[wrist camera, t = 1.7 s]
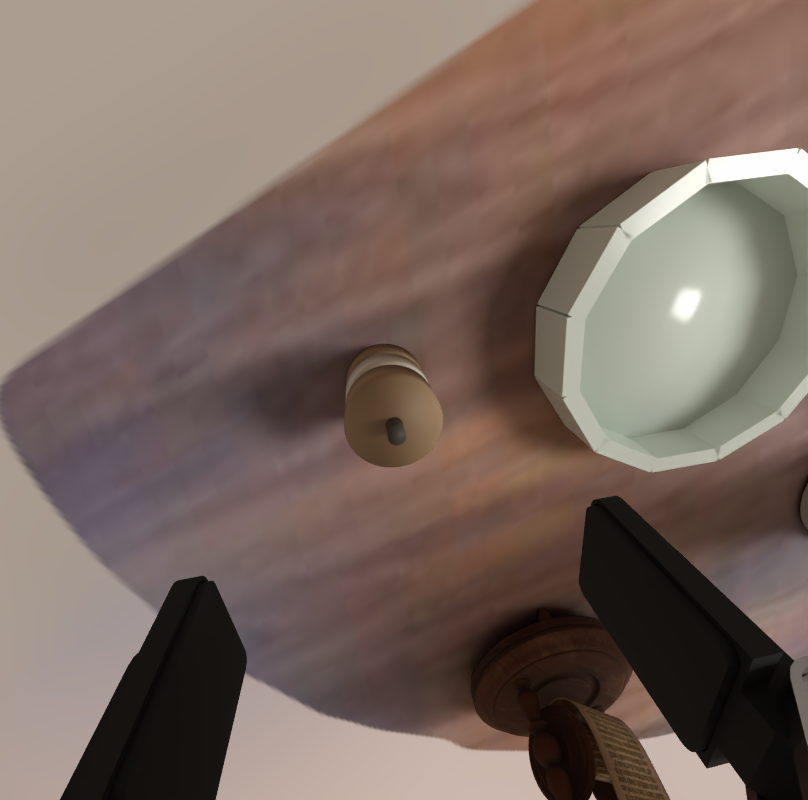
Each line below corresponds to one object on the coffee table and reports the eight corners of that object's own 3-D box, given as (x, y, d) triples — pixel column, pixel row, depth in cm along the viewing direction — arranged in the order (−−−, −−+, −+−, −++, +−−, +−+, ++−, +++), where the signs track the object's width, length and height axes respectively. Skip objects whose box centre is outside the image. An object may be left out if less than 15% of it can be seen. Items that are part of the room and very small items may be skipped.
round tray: (834, 149, 21) (921, 133, 18) (754, 421, 28) (806, 445, 25) (539, 185, 20) (575, 174, 17) (532, 459, 27) (556, 489, 23)
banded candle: (417, 338, 22) (445, 380, 16) (424, 408, 24) (452, 472, 17) (339, 350, 22) (334, 397, 15) (353, 420, 24) (353, 489, 17)
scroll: (645, 631, 36) (942, 1028, 18) (543, 717, 40) (702, 1118, 22) (539, 578, 32) (796, 1045, 13) (434, 682, 35) (522, 1156, 17)
